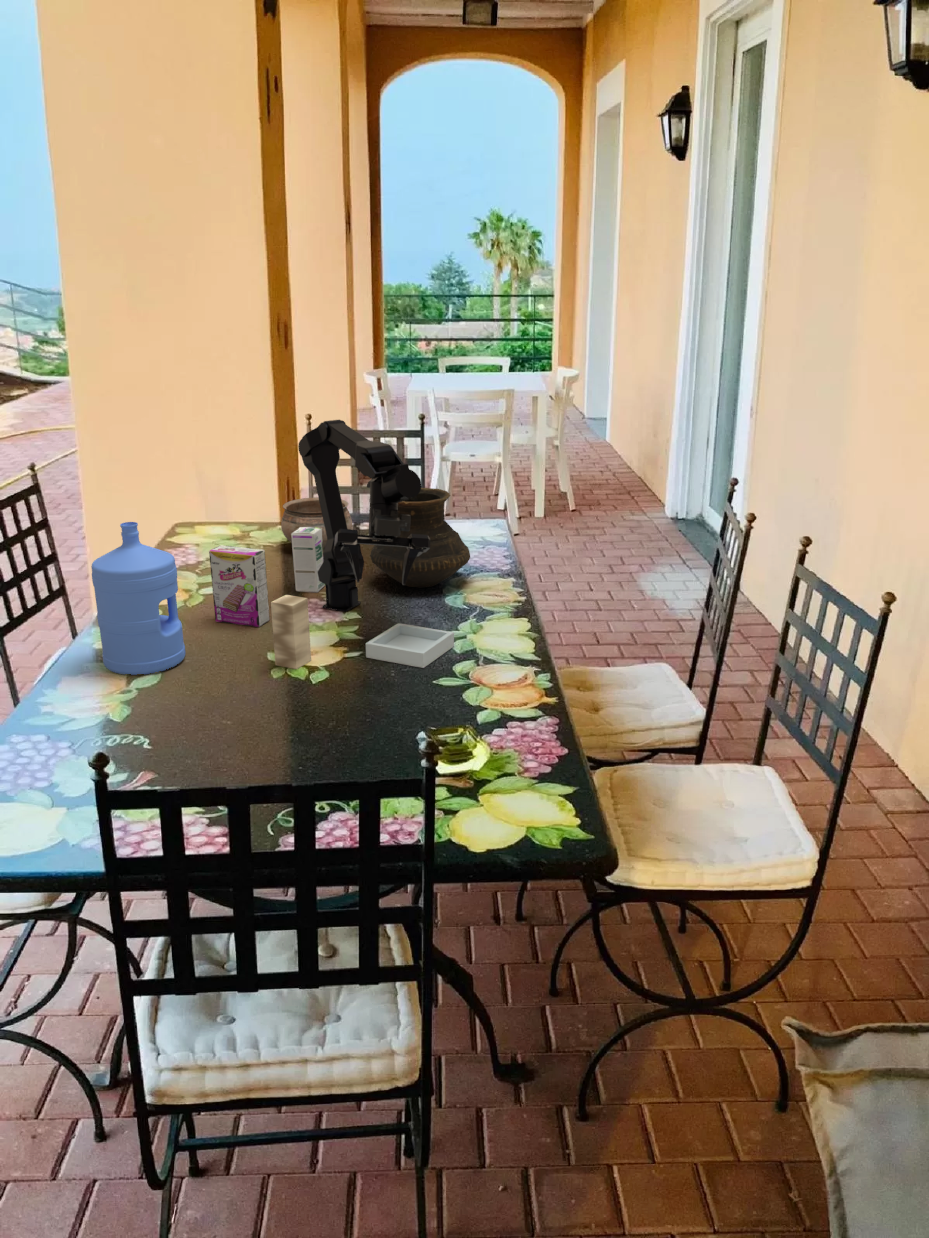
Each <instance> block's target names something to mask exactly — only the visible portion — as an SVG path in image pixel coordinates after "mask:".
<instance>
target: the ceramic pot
mask: <svg viewBox="0 0 929 1238" xmlns="http://www.w3.org/2000/svg"><path fill="white" fill-rule="evenodd" d="M450 497H451V494H450V493H449V492H448V491H447V490H444V489H440V488H431V487H430V488H429V487H421V490H420V492H419V494H418V495H417V496H415V497H413V498H410V499H407V500H405V501H402V502H399V503H398V518H400V515H401V514H406V515H410V516H411V520H410V531H409V532H408V531H400V536H398V537H400V538H408V537H409V536H410V535H411V534H421V535H428V536H429V537H430V549H429V550H428V551H426V552H424V553H422V554H421V555H420V556H416V558H415V560H414V562H413V564H412V566H411V569H410V572H409V575H408V577H407V580H406V583H405V585H404V586H407V587H410V588H432V587H434V586H436V585H439V584H440V583H442V582H444V581H445V580H448V579H449V578H450V577H452V576H453V575H454V574H455V573H457V572H458V571H459V570H460V569H461V568H463V567H464V566H466V565H467V564H468V563H469V560H470V558H471V553H470V549H469V546H467V545H466V544H465V542H464V541H463V540H462V538H461V536H460V533H458V531H456V530H454V529H453V527H452V526H451V525H450V524H449V523H448V522H447V521H446V520H445V503H446V502H447V500H448V499H449V498H450ZM389 541H390V542H392V540H389ZM406 552H407V548H406V547H397V546H383V545H373V547H372V548H371V551H370V559H371V562H372V563H373V564H374V565H375V566H376V567H377V568H379V569H380V570H381V571H382V572H383V573H385V574H386V575H388V576H389V577H391V578H392V579H394V580H395V581H397V582H399V583H400V584H402V574H403V565H404V556H405V553H406Z"/></svg>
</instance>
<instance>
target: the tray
mask: <svg viewBox="0 0 929 1238" xmlns="http://www.w3.org/2000/svg"><path fill="white" fill-rule="evenodd" d="M453 647H455V632H454V631H448V630H444V629H443V630H441V629H436V628H435V629H434V628H430V627H424V626H418V625H412V624H405V623H401V622H398V623H396V624H395V625H393V626H392V627H389V628H388V629H387V630H385V631H382V633H380V634H378V635H377V636H375V637H374V638H372V639H370V640H369V641H367V642H366V643H365V657H366V658H368V659H372V660H377V661H383V662H389V663H393V664H395V663H396V664H399V665H405V666H410V667H414V668H415V667H416V668H422V669H424V668H426V667H427V666H429V665H430V664H431V663H433V662H434V661H435V660H437V659H438V658H440V657H441V656H442V655H444V654H446V652H448V651H449V650H451V649H452V648H453Z"/></svg>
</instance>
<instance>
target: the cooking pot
mask: <svg viewBox="0 0 929 1238" xmlns="http://www.w3.org/2000/svg"><path fill="white" fill-rule="evenodd" d="M341 500H342V505H343V509H344V514H345V519H346V524H347V528H348V529H351V530H353V529H352V528H353V521H352V517H351V513H350V511H349V510H348V506H349V501H347V500H345V499H342V498H341ZM282 508H283V509H284V512H283V514H282V517H281V521H280V522H281V523H280V527H281V531H282V533H283V535H284V537H285V538H286V539H287V541H289V542H290V543H291V544H292V538H291V534H292V533H293V532H294V531H296V530H298V529H299V528H300V527H317V528H321V529H322V540H323V551H324V548H325V545H326V543H327V535H326V530H325V526H324V521H323V516H322V512H321V507H320V502H319V498H318V497H314V496H313V497H305V498H299V499H293V500H290V501H288V502H285V503H284V504H283V505H282Z"/></svg>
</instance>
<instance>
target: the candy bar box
mask: <svg viewBox="0 0 929 1238" xmlns="http://www.w3.org/2000/svg"><path fill="white" fill-rule="evenodd" d="M208 554H209V564H210V576H211V585H212V596H213V597H212V598H213V599H212V600H213V607H214V618H215V619H214V620H215V622H217V623H222V624H223V623H224V624H232V625H240V626H247V627H248V626H249V627H256V628H260V627H262V626H263V625H265V624H266V623H268V622H270V617H271V616H270V608H269V607H270V606H269V605H270V604H269V594H268V593H269V591H268V580H267V579H268V578H267V565H266V551H265V549H261V548H251V547H249V548H248V547H241V546H232V545H225V544H224V545H223V544H221V545H218V546H216V547H213V548H211V549H210V550H208Z"/></svg>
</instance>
